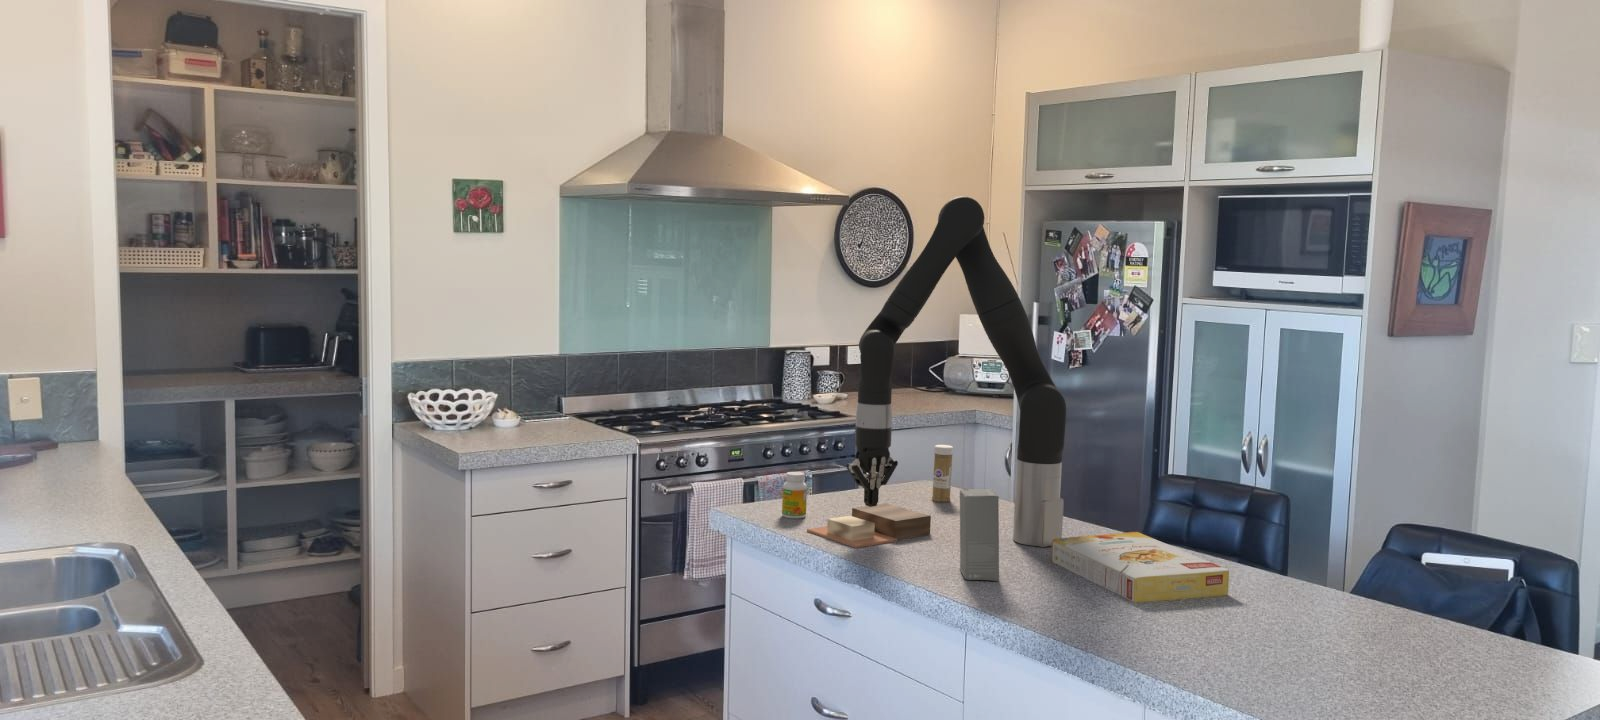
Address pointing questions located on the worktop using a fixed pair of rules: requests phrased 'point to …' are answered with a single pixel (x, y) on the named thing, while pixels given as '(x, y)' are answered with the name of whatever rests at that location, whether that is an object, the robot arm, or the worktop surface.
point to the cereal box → (1140, 567)
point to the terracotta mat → (857, 543)
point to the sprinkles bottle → (942, 473)
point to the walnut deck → (894, 520)
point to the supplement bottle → (794, 496)
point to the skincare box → (979, 534)
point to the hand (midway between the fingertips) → (871, 505)
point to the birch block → (850, 528)
